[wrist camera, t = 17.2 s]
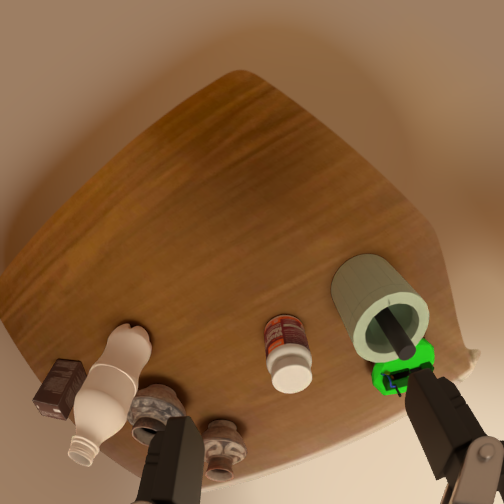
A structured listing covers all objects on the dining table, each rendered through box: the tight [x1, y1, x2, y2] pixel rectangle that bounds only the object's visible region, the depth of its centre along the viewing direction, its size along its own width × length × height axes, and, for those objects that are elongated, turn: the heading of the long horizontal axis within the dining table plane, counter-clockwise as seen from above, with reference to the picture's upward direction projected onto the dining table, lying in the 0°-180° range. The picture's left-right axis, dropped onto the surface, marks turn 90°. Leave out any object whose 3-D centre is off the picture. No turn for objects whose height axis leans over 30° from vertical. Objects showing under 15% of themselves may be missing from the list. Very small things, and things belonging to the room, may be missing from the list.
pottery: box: [127, 384, 247, 482], centre depth 50 cm, size 11×25×12 cm, turn 49°
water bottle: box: [68, 323, 152, 466], centre depth 37 cm, size 7×7×25 cm
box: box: [32, 359, 87, 421], centre depth 47 cm, size 6×4×12 cm
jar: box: [331, 254, 429, 363], centre depth 41 cm, size 10×10×12 cm
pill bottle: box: [264, 315, 312, 393], centre depth 43 cm, size 6×6×11 cm
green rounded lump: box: [371, 338, 434, 397], centre depth 46 cm, size 12×12×11 cm
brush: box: [374, 307, 416, 361], centre depth 38 cm, size 4×4×16 cm
